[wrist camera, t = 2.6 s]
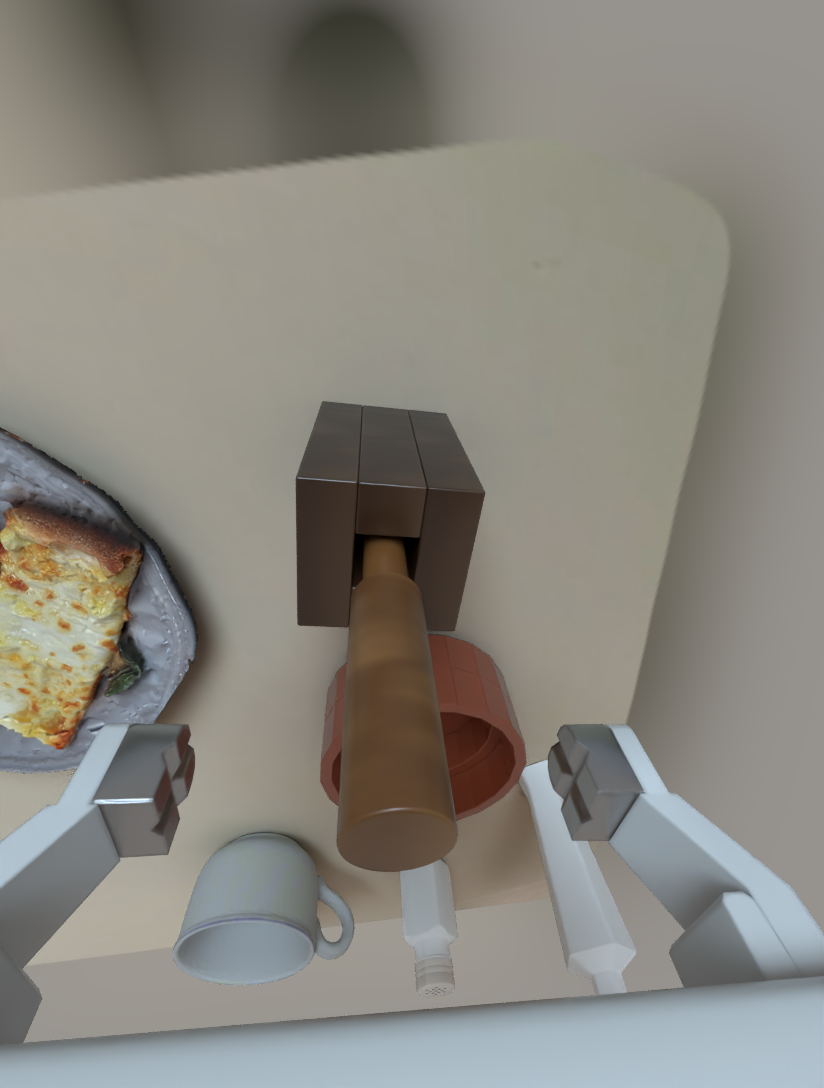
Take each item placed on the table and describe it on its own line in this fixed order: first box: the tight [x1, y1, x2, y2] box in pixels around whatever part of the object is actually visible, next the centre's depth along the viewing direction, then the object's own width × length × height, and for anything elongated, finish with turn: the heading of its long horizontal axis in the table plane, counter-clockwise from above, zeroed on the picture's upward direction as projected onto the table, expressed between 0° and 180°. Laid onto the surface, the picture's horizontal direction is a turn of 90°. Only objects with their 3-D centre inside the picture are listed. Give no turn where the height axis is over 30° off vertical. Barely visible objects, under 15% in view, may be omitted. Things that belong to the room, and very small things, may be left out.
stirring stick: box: [337, 534, 458, 872], centre depth 16 cm, size 2×2×18 cm
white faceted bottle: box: [519, 760, 637, 995], centre depth 33 cm, size 5×4×15 cm
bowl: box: [320, 635, 526, 821], centre depth 30 cm, size 12×12×6 cm
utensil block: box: [296, 401, 485, 631], centre depth 20 cm, size 6×6×9 cm
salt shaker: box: [400, 859, 458, 997], centre depth 42 cm, size 4×4×10 cm
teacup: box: [173, 833, 354, 986], centre depth 39 cm, size 14×11×8 cm
